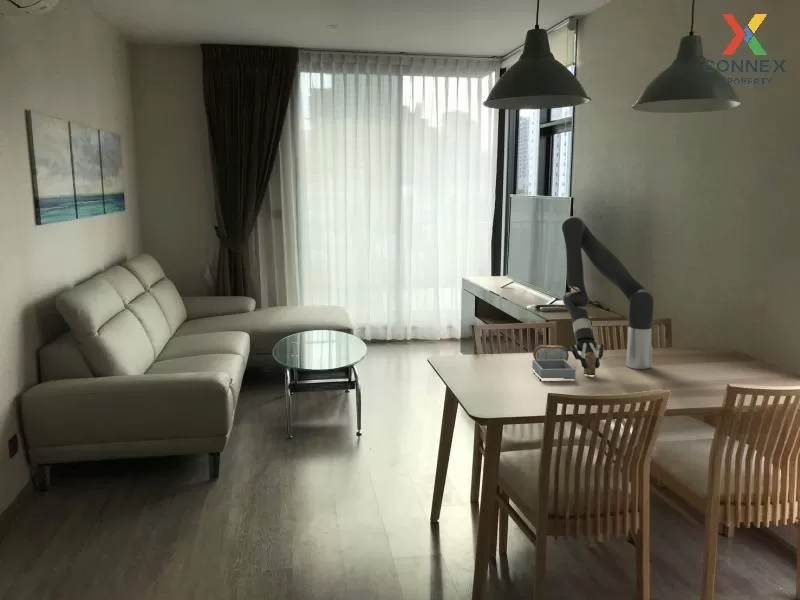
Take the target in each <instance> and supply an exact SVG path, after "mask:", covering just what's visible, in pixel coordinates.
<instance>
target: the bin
mask: <svg viewBox="0 0 800 600" xmlns="http://www.w3.org/2000/svg"><path fill="white" fill-rule="evenodd" d="M531 367H532V368H533V369H534V370H535V372H536V373H537V374H538V375H539V376H540V377H541V378H564V379H575V380H576V368H575V367H573V365H572V364H571V363H569V362H568V360H567V361H566V360H535V359H533V360H532V364H531ZM532 368H531V369H532Z"/></svg>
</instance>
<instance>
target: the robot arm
mask: <svg viewBox="0 0 800 600" xmlns="http://www.w3.org/2000/svg"><path fill="white" fill-rule="evenodd" d="M561 231H562V235H563V238H564V244H565V250H566V251H565V252H566V253H565V254H566V255H565V256H566V283H567V286H568V287H571V288H576V289H578V291H570V292H565V294H564V295H563V298H562V301H563V305H564V306H565V308H566V309H567V311H568V313H569V315H570V318H571V323H572V328H573V333H574V339H575V343H576V344H571V345H570V347H569V349H570V351H571V353H572V355H573V357H574V359H575V360H579V361H580V363H581V367H582V368H583V370H584V369H585V368H586V367H587V364H586V360H585V354H586V353H588V352H593V353H594V354H595V355H596V367H595V369H599V367H600V365H601V363H600V360H602V357H603V356H604V348H605V347H604V346H605V345H604V344H597V341H596V339H595V336H594V330H593V327H592V324H591V322H590V316H589V313H588V311H587V309H585V308H586V307H587V306H588V304H589V302H590V299H589V295H588V293H587V290H586V286H585V282H584V281H585V280H584V263H583V255H582V250H583V252H584V253H585V255H586V256H587V258H588V259H589V261H590V262H591V264H592V265H593V266H594V267H595V268H596V269H597V270H598V271H599V272H600V274H601V275H602V276H603V277H605V279H607V281H609V282H611V283H612V284H613V285H614V286H616V287H617V288H618V289H619V290H620V291H621V292H622V294H623V295H624V296H625V297H626V298H627V300H628V301H629V309H628V310H629V311H628V312H629V313H628V314H629V315H628V328H627V329H628V331H627V347H626V348H627V349H626V367H628V368H630V369H636V370H646V369H651V368H652V356H653V345H652V344H651V343H652V327H653V326H652V325H653V320H654V319H653V315H654V302H655V301H654V297H653V295H652V293H651V292H650V291H649V290H648V289H647V288H646V287H644V286H643V285H642V284H641V283H640V282H639V281H637V280H636V279H635V278H634V277H633V275H631V273H630V272H629V270H628V269H627V268H626V266H625V265H624V263H622V261H620V259H619V258H618V257H617V256H616V255H615V254H614V253H613V252H612V251H611V250H610V248H608V247H607V246H606V245H605V244H604V243H603V242H601V241H600V240H599V239H598V238H597V237H596V236H595V235H594V234H593V233H592V232H591V230H590V229H589V227H588V226H587V224H586V223H585V221H583V219H581V218H580V217H578V216H575V215H574V216H569V217H568V218H565V220H564V221H563V222H562V225H561ZM577 349H578V350H579V351H580V353H579V352H578V350H577ZM596 349H597V350H596ZM597 351H598V352H597Z"/></svg>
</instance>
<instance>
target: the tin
mask: <svg viewBox="0 0 800 600" xmlns="http://www.w3.org/2000/svg"><path fill="white" fill-rule="evenodd" d="M532 355H533V356H532V357H533V360H566V361H567V362H568V360H569V355H570V354H569V350H568V348H566V347H565V346H563V345H560V344H558V345H556V344H554V345H553V344H540V345H538V346H536V347H535V348H534V350H533V353H532Z"/></svg>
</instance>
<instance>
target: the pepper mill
mask: <svg viewBox="0 0 800 600" xmlns="http://www.w3.org/2000/svg"><path fill="white" fill-rule="evenodd" d="M584 358H585V360H586V364H587V367H586V368H585V369H584V368H583V375H584V374H587V375H595V376H596V355H595V354H594V353H593V352H588V353H586V354H585V357H584Z"/></svg>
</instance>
